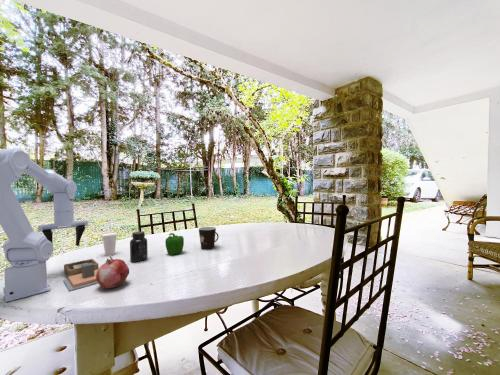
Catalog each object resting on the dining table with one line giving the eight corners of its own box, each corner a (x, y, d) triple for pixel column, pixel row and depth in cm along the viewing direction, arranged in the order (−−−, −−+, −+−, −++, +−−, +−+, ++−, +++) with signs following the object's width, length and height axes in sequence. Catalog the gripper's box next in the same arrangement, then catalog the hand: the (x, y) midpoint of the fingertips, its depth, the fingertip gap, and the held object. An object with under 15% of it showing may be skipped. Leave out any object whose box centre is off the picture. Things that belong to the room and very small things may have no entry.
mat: (69, 291, 70) (69, 290, 70) (63, 281, 78) (63, 280, 78) (113, 279, 79) (113, 278, 79) (103, 271, 87) (103, 270, 87)
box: (68, 279, 80) (68, 270, 80) (64, 272, 86) (63, 264, 86) (98, 271, 86) (98, 263, 86) (92, 266, 93) (92, 258, 92)
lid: (73, 287, 72) (73, 272, 72) (68, 279, 79) (67, 264, 79) (108, 278, 79) (107, 263, 79) (100, 271, 86) (100, 258, 86)
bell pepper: (181, 249, 114) (180, 229, 113) (186, 254, 107) (185, 232, 106) (163, 252, 109) (162, 232, 109) (167, 257, 102) (167, 235, 102)
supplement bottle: (126, 261, 98) (125, 233, 97) (140, 256, 104) (140, 230, 103) (137, 263, 94) (136, 234, 94) (151, 258, 100) (150, 231, 100)
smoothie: (110, 257, 104) (109, 226, 104) (98, 256, 105) (97, 226, 105) (121, 252, 110) (120, 223, 110) (109, 252, 111) (108, 223, 111)
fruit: (126, 277, 81) (126, 249, 81) (131, 286, 73) (131, 255, 73) (95, 284, 75) (94, 254, 75) (97, 295, 68) (96, 262, 67)
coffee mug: (197, 247, 118) (196, 227, 118) (213, 244, 122) (213, 226, 122) (202, 253, 108) (202, 231, 107) (220, 250, 111) (219, 230, 111)
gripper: (84, 208, 94) (85, 241, 94) (36, 212, 83) (37, 249, 84) (89, 210, 89) (90, 244, 89) (38, 214, 79) (39, 253, 79)
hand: (65, 247), depth 86 cm, fingers open, 7 cm apart
